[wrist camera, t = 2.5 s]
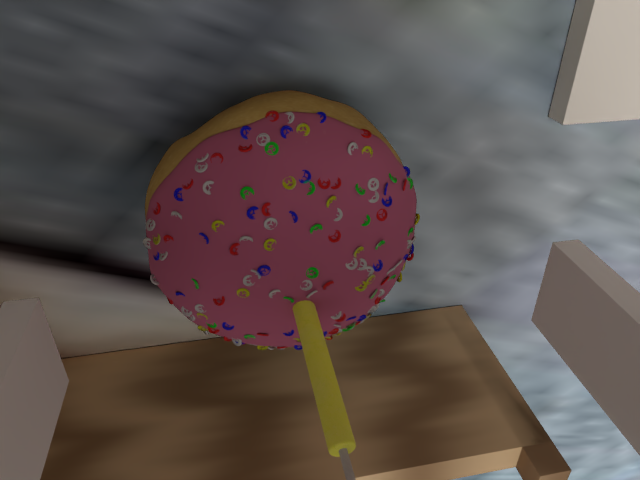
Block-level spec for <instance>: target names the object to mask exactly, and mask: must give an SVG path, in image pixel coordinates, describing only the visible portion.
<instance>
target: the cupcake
mask: <svg viewBox="0 0 640 480" xmlns="http://www.w3.org/2000/svg"><path fill="white" fill-rule="evenodd" d="M407 172H408V173H407ZM409 175H410V169H409V168H408V167H406V166H404V167H403V165H402V162H401V160H400V158H399V156H398V155H397V153H396V152H395V150H394V149H393V147H392V146H391V145H390V143H389V142H388V141H387V139H386V138H385V137H384V136H383V135H382V134H381V133H380V132H379V131H378V130H377V129H376V128H375V127H374V126H373V125H372V123H370V122H369V121H368V120H367V119H366V118H365V117H364V116H363V115H362V114H361V113H360V112H358V111H357V110H355V109H354V108H352V107H350V106H348V105H346V104H343V103H340V102H336V101H332V100H328V99H325V98H322V97H319V96H316V95H312V94H308V93H304V92H299V91H293V90H285V91H277V92H271V93H265V94H261V95H257V96H255V97H252V98H250V99H247V100H245V101H243V102H241V103H239V104H236V105H234V106H232V107H230V108H228V109H226V110H224V111H222V112H221V113H219V114H217V115H216V116H215V117H213V118H212V119H210V120H209V121H208V122H207V123H205V124H204V125H203V126H201V127H200V128H198V129H197V130H196V131H194V132H193V133H191V134H189V135H187V136H185V137H183V138H181V139H179V140H177V141H176V142H174V143H173V144H172V145H171V146H170V147H169V149H168V150H167V152H166V153H165V154H164V156H163V158H162V159H161V161H160V162H159V164H158V166H157V167H156V169H155V171H154V173H153V175H152V178H151V180H150V183H149V186H148V190H147V194H146V200H145V217H146V237H147V238H145V239H144V240H143V244H144V246H145V247H146V248H148V255H149V266H150V271H151V274H152V275H151V276H150V280H151V282H152V283H153V284H155V285H158V287H159V288H160V289H161V291H162V292H163V293H164V294H165V295H166V297H167V299H168V301H169V303H170V304H174V306H175V307H176V308H177V309H178V310H179V311H180V312H181V313H182V314H184V315H185V316H186V317H187V318H188V319H190V320H191V321H192V322H194V323H195V324H197V325H199V326H198V329H199V330H201V331H203V332H204V333H205V334H206V335H208V334H209V333H208V331H209V332H210V333H213V334H217V335H219V336H221V337H224V340H225V341H232V342H233V343H234V344H235V345H236V346H240V345H241V344H246V343H247V344H250V345H255V346H257V348H258V349H259V350H266V349H267V348H268V349H270V350H273V349H274V347H275V348H277V349H279V350H284V349H285V348H288V347H294V348H295V349H296V350H301V349H303V352H304V356H305V360H306V364H307V368H308V372H309V376H310V380H311V384H312V388H313V392H314V396H315V400H316V404H317V408H318V412H319V416H320V420H321V424H322V428H323V432H324V436H325V440H326V444H327V448H328V451H329V454H330V455H332V456H335V457H340V459H341V462H342V466H343V470H344V473H345V477H346V480H356V479H355V475H354V472H353V468H352V465H351V461H350V458H349V453H351V452H352V451H353V450H354V449H355V447H356V443H355V439H354V436H353V433H352V429H351V426H350V422H349V419H348V416H347V412H346V409H345V406H344V402H343V399H342V395H341V392H340V389H339V385H338V382H337V378H336V375H335V372H334V368H333V365H332V362H331V358H330V355H329V351H328V348H327V345H326V341H325V339H327V340H331V339H332V338H333V337H332V335H333V334H334V335H335V336H338V335H340V334H341V333H342V331H349V330H352V329H353V328H354V326H355V325H358V324H361V323H362V322H363V321H364V320H366V319H368V318H369V317H370V316H371V314H370V313H373V312H375V311H376V310H377V309H378V306H379V304H378V303H380V302H384V301H385V300H382V299H383V298H384V297H385V296H386V295H387V294H388V293H389V291H390V290H391V289H392V287H393V285H394V284H395V282H396V280H397V281H398V282H401V280H402V274H401V270H402V271H403V270H404V268H405V263H406V260H408V261H410V260H412V259H413V256H414V254H413V251H414V246H413V244H412V243H413V241H414V240H415V238H416V237H414V230H415V225H416V224H417V223H418V222H419V219H420V216H419V214H416V203H417V200H416V193H415V189H414V186H413V181H412V179H411V178H410V176H409ZM416 216H417V217H416ZM416 219H417V221H416ZM146 242H147V243H146ZM411 247H412V248H411ZM411 249H412V250H411ZM410 254H411V257H410ZM408 255H409V257H410V258H408ZM399 274H400V276H399ZM399 277H400V279H399ZM153 279H154V280H155V281H154V280H153ZM366 316H367V317H366ZM329 336H330V337H329ZM264 346H266V347H264ZM299 346H300V347H299ZM261 347H264V348H261ZM271 347H272V348H271ZM298 347H299V348H298Z"/></svg>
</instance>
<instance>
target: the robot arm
mask: <svg viewBox="0 0 640 480" xmlns="http://www.w3.org/2000/svg"><path fill="white" fill-rule="evenodd" d="M532 322H533V323H534V324H535V325H536V327H537V328H538V329H539V330H540V332H541V333H542V334H543V335H544V337H545V338H546V339H547V340H548V342H549V343H550V344H551V345H552V347H553V348H554V349H555V350H556V352H557V353H558V354H559V355H560V356H561V358H562V359H563V360H564V361H565V363H566V364H567V365H568V366H569V368H570V369H571V370H572V371H573V373H574V374H575V375H576V376H577V378H578V379H579V380H580V381H581V383H582V384H583V385H584V386H585V388H586V389H587V390H588V391H589V393H590V394H591V395H592V396H593V398H594V399H595V400H596V401H597V403H598V404H599V405H600V406H601V408H602V409H603V410H604V411H605V413H606V414H607V415H608V416H609V418H610V419H611V420H612V421H613V423H614V424H615V425H616V426H617V428H618V429H619V430H620V431H621V433H622V434H623V435H624V436H625V438H626V439H627V440H628V441H629V443H630V444H631V445H632V446H633V448H634V449H635V450H636V451H637V453H638V454H639V455H640V293H639V292H638V291H637V290H635V289H634V288H633V287H632V286H631V285H630V284H629V283H627V282H626V281H625V280H624V279H623V278H622V277H621V276H619V275H618V274H617V273H616V272H615V271H614V270H613V269H611V268H610V267H609V266H608V265H607V264H606V263H605V262H603V261H602V260H601V259H600V258H599V257H598V256H597V255H595V254H594V253H593V252H592V251H591V250H590V249H589V248H587V247H586V246H585V245H584V244H583V243H582V242H581V241H579V240H570V241H561V242H553V244H552V247H551V251H550V255H549V258H548V262H547V265H546V269H545V273H544V276H543V280H542V284H541V287H540V291H539V294H538V298H537V302H536V305H535V309H534V313H533V316H532ZM68 383H69V379H68V377H67V374H66V371H65V368H64V365H63V363H62V360H61V357H60V354H59V352H58V349H57V346H56V343H55V341H54V338H53V335H52V332H51V330H50V327H49V324H48V321H47V318H46V316H45V313H44V310H43V307H42V305H41V302H40V299H39V298H31V299H22V300H12V301H4V302H3V304H2V306H1V308H0V480H40V479H41V475H42V472H43V468H44V465H45V461H46V458H47V455H48V451H49V448H50V444H51V441H52V438H53V434H54V431H55V427H56V424H57V420H58V417H59V414H60V410H61V407H62V403H63V400H64V397H65V393H66V390H67V386H68Z"/></svg>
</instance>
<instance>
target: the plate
mask: <svg viewBox="0 0 640 480" xmlns="http://www.w3.org/2000/svg"><path fill="white" fill-rule="evenodd" d="M548 117H550V118H552V119H553V120H555V121H557V122H558V123H560V124H562V125H568V124H582V123H595V122H608V121H621V120H634V119H640V0H576V4H575V8H574V12H573V16H572V21H571V25H570V29H569V33H568V37H567V41H566V45H565V50H564V54H563V58H562V62H561V66H560V70H559V74H558V79H557V83H556V87H555V91H554V95H553V99H552V103H551V108H550V112H549V116H548Z"/></svg>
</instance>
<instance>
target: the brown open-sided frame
mask: <svg viewBox="0 0 640 480" xmlns="http://www.w3.org/2000/svg"><path fill="white" fill-rule="evenodd" d="M329 337H330V336H329ZM332 337H333V338H332V339H331V340H327V339H325V341H326V345H327V348H328V351H329V355H330V358H331V362H332V365H333V368H334V372H335V375H336V378H337V382H338V385H339V389H340V392H341V395H342V399H343V402H344V406H345V409H346V412H347V416H348V419H349V422H350V426H351V429H352V433H353V436H354V439H355V443H356V447H355V449H354V450H353V451H352V452H351V453H349V458H350V461H351V465H352V468H353V472H354V475H355V479H356V480H450V479H455V478H461V477H466V476H471V475H476V474H481V473H487V472H492V471H497V470H502V469H507V468H513V467H516V468H517V470H518V472H519V473H520V475H521V477H522V479H523V480H567V479H568V477H569V474H570V472H571V469H570V467H569V466H568V464H567V463H566V461H565V460H564V458H563V457H562V455H561V454H560V452H559V451H558V449H557V448H556V446H555V445H554V443H553V442H552V440H551V439H550V437H549V436H548V434H547V433H546V431H545V430H544V428H543V427H542V425H541V424H540V422H539V421H538V419H537V418H536V416H535V415H534V413H533V412H532V410H531V409H530V407H529V406H528V404H527V403H526V401H525V400H524V398H523V397H522V395H521V394H520V392H519V391H518V389H517V388H516V386H515V385H514V383H513V382H512V380H511V379H510V377H509V376H508V374H507V373H506V371H505V370H504V368H503V367H502V365H501V364H500V362H499V361H498V359H497V358H496V356H495V355H494V353H493V352H492V350H491V349H490V347H489V346H488V344H487V343H486V341H485V340H484V338H483V337H482V335H481V334H480V332H479V331H478V329H477V328H476V326H475V325H474V323H473V322H472V320H471V319H470V317H469V316H468V314H467V313H466V311H465V310H464V308H463V307H462V305H459V306H452V307H444V308H437V309H429V310H422V311H415V312H407V313H400V314H392V315H385V316H377V317H370V318H368V319H366V320H364V321H363V322H362V323H361V324H358V325H355V326H354V328H353V329H352V330H349V331H342V333H341V334H340V335H338V336H335V335H334V334H333V335H332ZM264 347H266V346H264ZM264 347H261V348H264ZM299 347H300V346H299ZM299 347H298V348H299ZM271 348H272V347H271ZM61 360H62V363H63V365H64V368H65V371H66V374H67V377H68V379H69V383H68V386H67V390H66V393H65V397H64V400H63V403H62V407H61V410H60V414H59V417H58V420H57V424H56V427H55V431H54V434H53V438H52V441H51V444H50V448H49V451H48V455H47V458H46V461H45V465H44V468H43V472H42V475H41V479H40V480H346V477H345V473H344V470H343V466H342V462H341V459H340V457H335V456H332V455H330V454H329V451H328V448H327V444H326V440H325V436H324V432H323V428H322V424H321V420H320V416H319V412H318V408H317V404H316V400H315V396H314V392H313V388H312V384H311V380H310V376H309V372H308V368H307V364H306V360H305V356H304V352H303V349H301V350H296V349H295V348H294V347H288V348H285V349H284V350H279V349H277V348H275V347H274V349H273V350H270V349H268V348H267V349H266V350H259V349H258V348H257V346H255V345H250V344H247V343H246V344H241V345H240V346H236V345H235V344H234V343H233V342H232V341H225V340H224V337H221V338H214V339H206V340H199V341H191V342H184V343H176V344H169V345H162V346H154V347H147V348H139V349H132V350H124V351H117V352H109V353H102V354H95V355H87V356H80V357H72V358H65V359H61Z"/></svg>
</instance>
